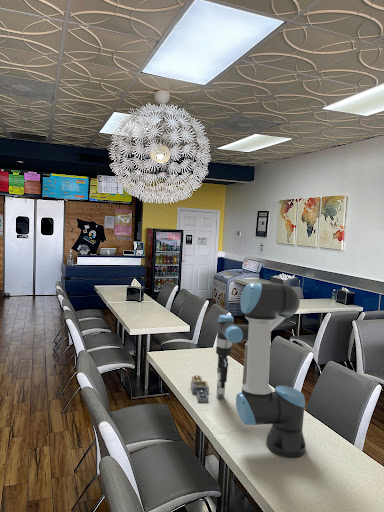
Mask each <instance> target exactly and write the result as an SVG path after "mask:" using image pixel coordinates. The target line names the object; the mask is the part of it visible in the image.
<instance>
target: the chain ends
mask: <svg viewBox="0 0 384 512" xmlns="http://www.w3.org/2000/svg"><path fill="white" fill-rule="evenodd" d="M190 389H191V393H192V395H195V397H196V399H197V402H198V403H209V399H210V397H209V392H210V387H209V384H208V381H207V380H203V378H202V376H200V375H197V374H196V375H194V376H191V381H190Z"/></svg>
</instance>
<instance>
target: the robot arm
mask: <svg viewBox="0 0 384 512" xmlns="http://www.w3.org/2000/svg"><path fill="white" fill-rule="evenodd" d="M300 304H301V301H300V296H299V294H298V292H297V291H296V290H295V289H294V288H293V287H292V286H290V285H288V284H285V283H284V284H283V283H263V282H261V283H260V282H256V283H255V282H254V283H253V282H251V283H248V284H247V285H245V287H244V288H243V290H242V292H241V295H240V302H239V305H240V310H241V312H242V313H243V314H245V316H244V318H245V319H246V320H247V321H248V324H235V323H234V316H232V315H229V314H220V315H219V316H218V320H217V333H216V335H217V336H216V348H215V352H216V355H218V356H217V368H218V367H221V376H220V380H219V382H220V384H219V394H224V393H225V392H226V383H227V381H228V380H227V379H228V378H227V377H228V371H227V369H228V368H229V362H228V361H229V359H228V357H229V356H231V354H232V347H233V346H232V344H238V343H240V342H244V341H245V342H247V341H248V353H247V375H246V384H243V385H242V386H241V392H238V393H236V396H235V405H236V411H237V415H238V417H239V420H240V421H241V422H242V423H243V424H244V425H246V426H261V425H271V427H270V429H269V432H268V434H267V436H266V442H265V443H266V447H267V449H269V451H271V452H272V453H273V454H276V455H278V456H281V457H285V458H291V459H292V458H299V457H302V456H303V455H304V454H305V453H306V439H305V438H304V433H303V432H304V431H303V428H304V417H305V407H306V400H305V399H306V397H305V395H304V394H303V393H302V392H301V391H299V390H298V389H297V388H293V387H291V386H287V385H278V386H276V387H275V388H274V391H273V388H272V387H271V386H270V383H269V381H270V379H269V378H270V360H271V357H270V356H271V339H272V337H271V336H272V331H273V330H274V329H275V328H276V327H277V326H279V325H280V324H281V323H282V322H284V320H286V319H288V318H291V317H292V316H294V315H295V314H296V313H297V312H298V310H299V308H300ZM228 370H229V369H228ZM216 371H217V370H216ZM216 373H217V375H218V371H217V372H216Z"/></svg>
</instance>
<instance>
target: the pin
mask: <svg viewBox="0 0 384 512" xmlns="http://www.w3.org/2000/svg"><path fill="white" fill-rule="evenodd" d="M228 370H229V369H227V372H228ZM216 371H218V374H217V380H216V381H217V384H216V399H217V400H224V399H225V396H226V395H225V393H224V394H219V384H220V382H219V380H220V376H221V367H218V366H217V368H216Z"/></svg>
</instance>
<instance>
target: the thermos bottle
mask: <svg viewBox="0 0 384 512" xmlns="http://www.w3.org/2000/svg"><path fill="white" fill-rule="evenodd" d="M244 345H245V347H244V357H243V358H244V360H243V368H242V369H243V370H242V371H243V374H242V383H241V384H243V385H244V384H246V375H247V353H248V341H246V343H245V344H244Z"/></svg>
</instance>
